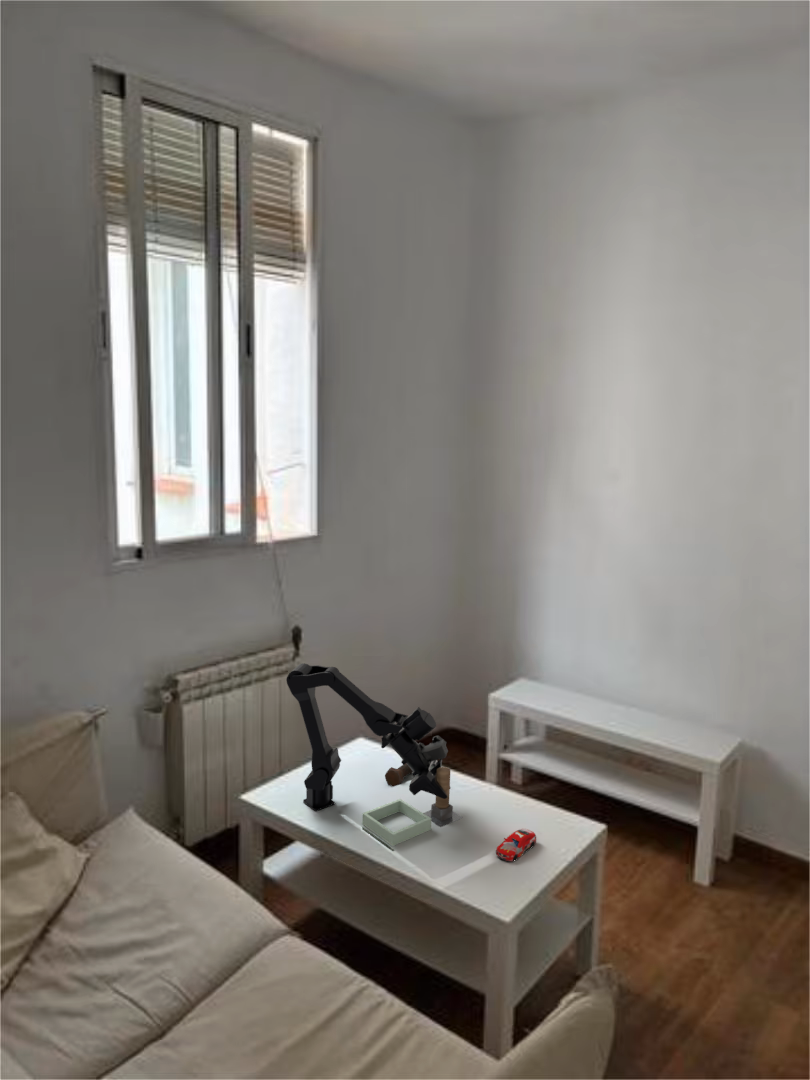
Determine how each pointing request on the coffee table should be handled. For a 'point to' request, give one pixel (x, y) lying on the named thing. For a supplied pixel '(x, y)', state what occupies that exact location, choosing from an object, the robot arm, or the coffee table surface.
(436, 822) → the square lid with knob
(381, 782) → the coffee table surface
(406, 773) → the bolt
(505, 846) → the race car
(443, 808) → the brown peg with base
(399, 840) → the bin
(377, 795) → the coffee table surface
